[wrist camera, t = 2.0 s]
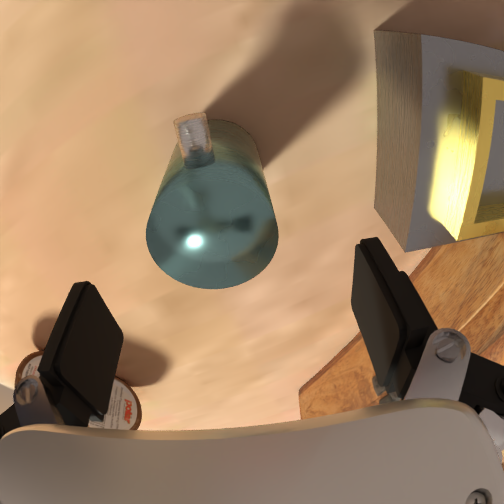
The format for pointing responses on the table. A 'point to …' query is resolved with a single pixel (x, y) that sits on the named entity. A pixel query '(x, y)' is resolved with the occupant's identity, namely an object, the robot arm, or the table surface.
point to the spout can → (212, 207)
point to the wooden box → (442, 312)
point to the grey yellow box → (439, 139)
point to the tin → (120, 406)
